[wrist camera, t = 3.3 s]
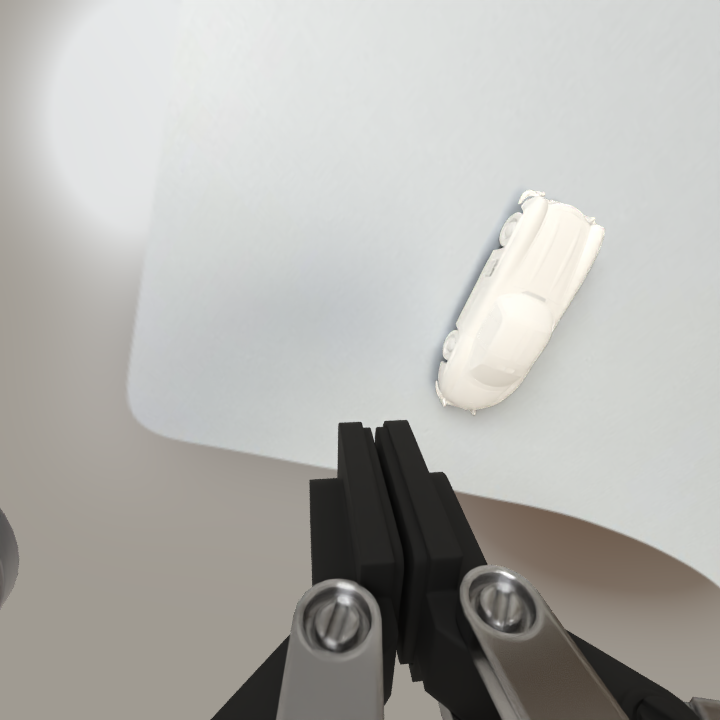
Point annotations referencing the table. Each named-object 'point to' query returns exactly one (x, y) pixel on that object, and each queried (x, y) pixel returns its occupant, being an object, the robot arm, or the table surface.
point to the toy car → (517, 302)
